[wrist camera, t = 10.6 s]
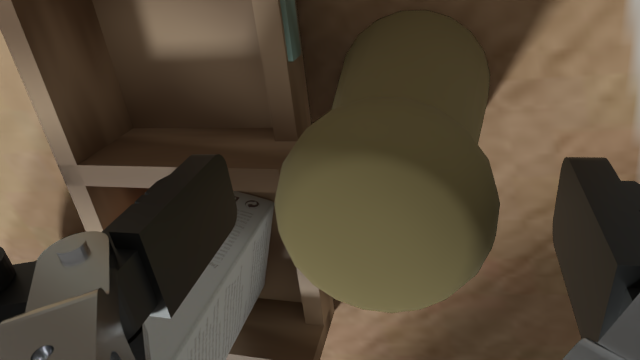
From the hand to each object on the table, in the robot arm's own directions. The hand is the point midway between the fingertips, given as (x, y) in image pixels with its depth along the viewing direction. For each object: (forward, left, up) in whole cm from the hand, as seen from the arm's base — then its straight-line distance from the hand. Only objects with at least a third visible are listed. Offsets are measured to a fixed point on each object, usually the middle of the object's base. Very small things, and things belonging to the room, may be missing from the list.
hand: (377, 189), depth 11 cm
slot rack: (-2, +9, -9) cm, 13 cm away
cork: (0, 0, -9) cm, 9 cm away
